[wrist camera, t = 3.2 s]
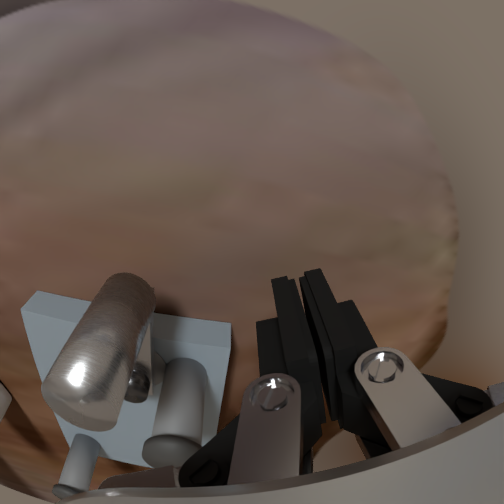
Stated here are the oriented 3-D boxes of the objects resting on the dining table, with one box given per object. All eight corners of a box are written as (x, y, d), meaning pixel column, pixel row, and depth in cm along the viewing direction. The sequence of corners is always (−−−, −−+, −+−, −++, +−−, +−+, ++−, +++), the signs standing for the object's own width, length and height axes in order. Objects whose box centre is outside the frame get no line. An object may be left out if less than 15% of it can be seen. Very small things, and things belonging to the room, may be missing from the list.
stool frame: (210, 454, 27) (208, 534, 19) (76, 429, 25) (52, 500, 17) (231, 323, 20) (231, 442, 12) (37, 290, 19) (-32, 373, 11)
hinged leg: (160, 383, 19) (138, 494, 11) (118, 376, 18) (84, 481, 11) (161, 266, 15) (111, 388, 8) (108, 258, 15) (32, 367, 8)
